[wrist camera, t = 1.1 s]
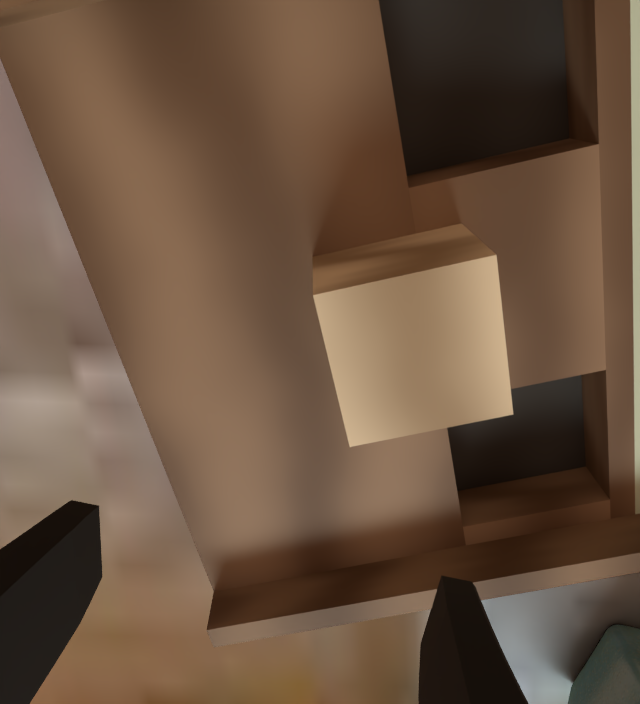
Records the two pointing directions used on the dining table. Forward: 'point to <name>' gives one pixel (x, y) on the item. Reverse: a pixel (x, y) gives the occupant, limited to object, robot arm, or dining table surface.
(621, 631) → the flower pot
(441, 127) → the walnut box
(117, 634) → the dining table surface
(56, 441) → the dining table surface
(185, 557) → the dining table surface
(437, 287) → the maple block
